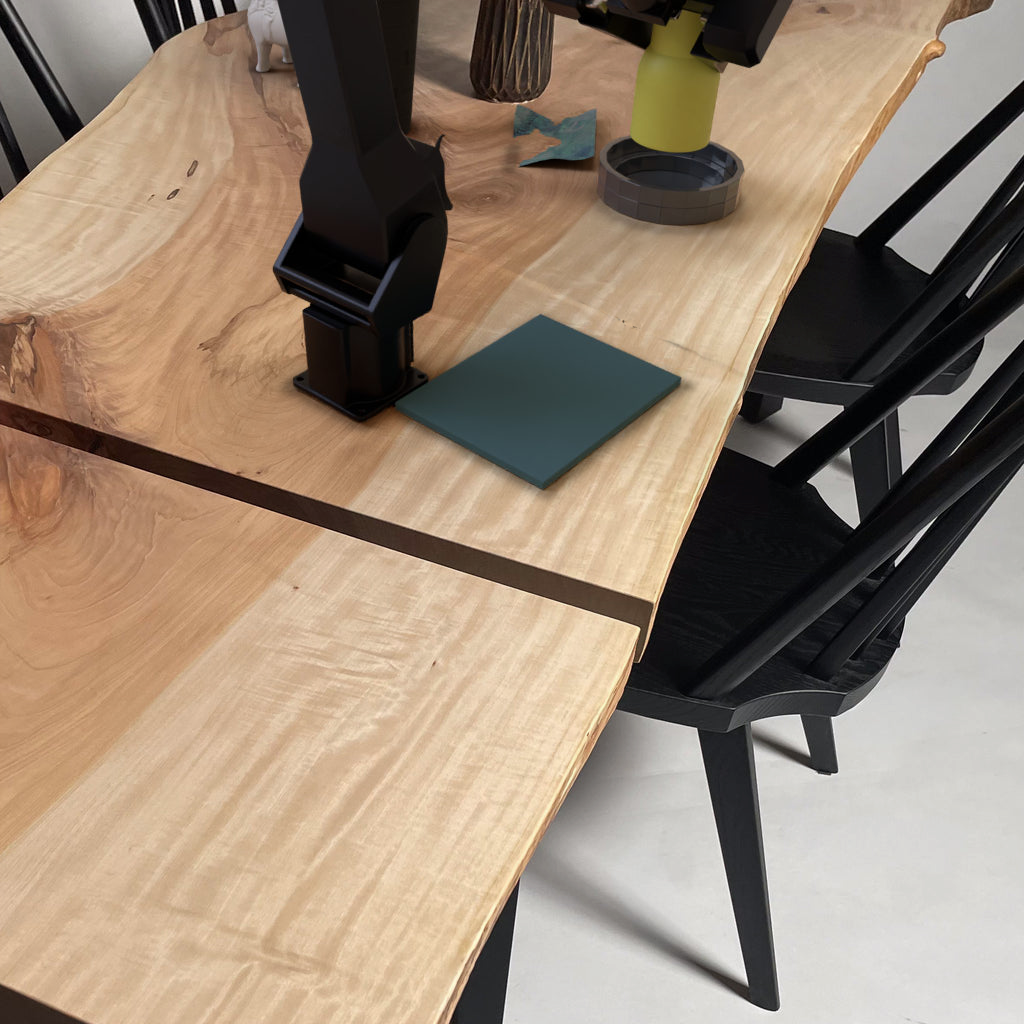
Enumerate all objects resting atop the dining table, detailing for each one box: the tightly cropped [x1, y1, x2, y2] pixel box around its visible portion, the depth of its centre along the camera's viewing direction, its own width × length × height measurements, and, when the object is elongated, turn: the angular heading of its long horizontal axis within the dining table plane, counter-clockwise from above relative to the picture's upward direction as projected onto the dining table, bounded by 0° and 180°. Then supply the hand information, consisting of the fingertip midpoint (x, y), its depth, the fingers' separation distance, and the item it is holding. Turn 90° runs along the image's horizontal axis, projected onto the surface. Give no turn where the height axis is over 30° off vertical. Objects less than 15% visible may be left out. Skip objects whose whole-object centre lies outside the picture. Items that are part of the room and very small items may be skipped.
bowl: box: [596, 134, 746, 226], centre depth 94 cm, size 12×12×4 cm
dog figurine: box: [246, 0, 299, 88], centre depth 112 cm, size 5×13×11 cm, turn 51°
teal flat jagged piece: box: [512, 104, 598, 168], centre depth 102 cm, size 13×8×2 cm, turn 176°
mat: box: [394, 313, 682, 490], centre depth 72 cm, size 15×12×1 cm
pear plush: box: [629, 10, 721, 152], centre depth 86 cm, size 7×7×14 cm
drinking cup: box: [376, 0, 421, 136], centre depth 98 cm, size 8×8×20 cm
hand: (689, 57), depth 88 cm, fingers closed on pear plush, 6 cm apart
